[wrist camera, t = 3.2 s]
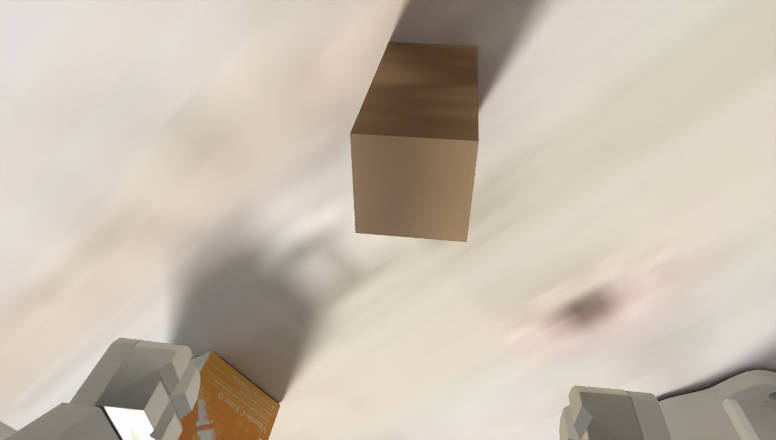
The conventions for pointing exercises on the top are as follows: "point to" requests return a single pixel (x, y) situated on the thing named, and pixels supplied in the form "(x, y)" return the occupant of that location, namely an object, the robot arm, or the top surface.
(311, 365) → the top surface
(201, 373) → the small box
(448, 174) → the tall wooden block
